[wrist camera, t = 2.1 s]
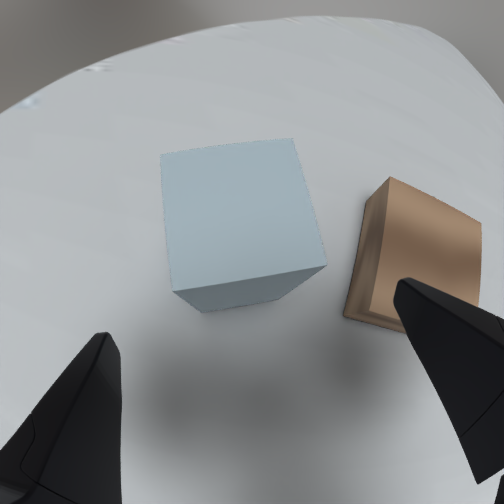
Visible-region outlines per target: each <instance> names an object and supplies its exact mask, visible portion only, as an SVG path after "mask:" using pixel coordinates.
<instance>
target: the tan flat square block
mask: <svg viewBox="0 0 504 504" xmlns="http://www.w3.org/2000/svg"><path fill="white" fill-rule="evenodd" d="M481 253H482V232H481V223H480V222H478V221H477V220H475V219H473V218H471V217H470V216H468V215H466V214H464V213H462V212H461V211H459V210H457V209H455V208H453V207H452V206H450V205H448V204H446V203H444V202H442V201H440V200H438V199H436V198H434V197H432V196H430V195H428V194H426V193H424V192H422V191H420V190H418V189H416V188H414V187H412V186H410V185H408V184H406V183H403V182H401V181H399V180H397V179H395V178H392V177H389V178H388V179H387V180H386V181H385V182H384V183H383V184H382V185H381V186H380V187H379V188H378V189H377V190H376V192H375V193H374V194H373V195H372V196H371V197H370V198H369V199H368V200H367V201H366V207H365V213H364V219H363V225H362V231H361V236H360V242H359V247H358V252H357V257H356V262H355V267H354V271H353V276H352V281H351V285H350V289H349V294H348V298H347V302H346V306H345V310H344V314H343V316H345V317H349V318H352V319H356V320H359V321H363V322H366V323H370V324H373V325H377V326H380V327H384V328H388V329H391V330H395V331H399V332H402V333H406V331H405V329H404V327H403V325H402V322H401V320H400V318H399V316H398V314H397V312H396V309H395V307H394V304H393V297H394V293H395V289H396V285H397V282H398V281H399V280H400V279H402V278H406V277H411V278H413V279H416V280H418V281H420V282H423V283H425V284H427V285H430V286H432V287H434V288H436V289H439V290H441V291H443V292H445V293H448V294H450V295H452V296H454V297H457V298H459V299H461V300H463V301H465V302H468V303H470V304H472V305H474V306H476V307H478V302H479V292H480V278H481Z"/></svg>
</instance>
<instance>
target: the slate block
mask: <svg viewBox="0 0 504 504" xmlns="http://www.w3.org/2000/svg"><path fill="white" fill-rule="evenodd" d="M160 162H161V181H162V196H163V209H164V221H165V232H166V241H167V251H168V260H169V268H170V276H171V284H172V291H173V292H174V293H175V294H177V295H178V296H179V297H181V298H182V299H183V300H185V301H186V302H187V303H189V304H190V305H192V306H193V307H194V308H196V309H197V310H198V311H200V312H201V313H202V312H209V311H215V310H221V309H227V308H233V307H239V306H245V305H250V304H256V303H261V302H267V301H272V300H277V299H279V298H281V297H282V296H284V295H285V294H287V293H288V292H290V291H291V290H293V289H294V288H296V287H297V286H298V285H300V284H301V283H303V282H304V281H306V280H307V279H308V278H310V277H311V276H313V275H314V274H316V273H317V272H318V271H320V270H321V269H323V268H324V267H325V266H327V265H328V264H327V260H326V256H325V251H324V247H323V243H322V239H321V236H320V232H319V228H318V224H317V220H316V217H315V213H314V209H313V206H312V202H311V198H310V195H309V191H308V188H307V184H306V181H305V177H304V174H303V171H302V167H301V164H300V161H299V158H298V154H297V151H296V148H295V145H294V142H293V138H288V139H275V140H263V141H253V142H243V143H235V144H226V145H218V146H211V147H204V148H197V149H191V150H185V151H179V152H173V153H167V154H162V155H160Z"/></svg>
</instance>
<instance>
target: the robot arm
mask: <svg viewBox="0 0 504 504" xmlns="http://www.w3.org/2000/svg"><path fill="white" fill-rule="evenodd" d="M393 304H394V307H395V309H396V312H397V314H398V316H399V318H400V320H401V322H402V325H403V327H404V329H405V331H406V334H407V336H408V338H409V340H410V342H411V344H412V346H413V348H414V350H415V352H416V354H417V355H418V357H419V359H420V361H421V363H422V365H423V366H424V368H425V370H426V372H427V374H428V376H429V378H430V380H431V382H432V384H433V386H434V387H435V389H436V391H437V393H438V395H439V397H440V400H441V402H442V404H443V406H444V408H445V410H446V412H447V414H448V416H449V418H450V420H451V423H452V425H453V427H454V429H455V431H456V434H457V436H458V438H459V441H460V443H461V446H462V448H463V450H464V453H465V455H466V458H467V460H468V463H469V465H470V468H471V470H472V473H473V475H474V478H475V481H476V483H477V484H480V483H481V482H483V481H485V480H486V479H488V478H489V477H491V476H493V475H494V474H496V473H497V472H499V471H500V470H502V469H503V468H504V319H502V318H500V317H498V316H495V315H494V314H492V313H489V312H487V311H485V310H483V309H481V308H479V307H476V306H474V305H472V304H470V303H468V302H465V301H463V300H461V299H459V298H457V297H454V296H452V295H450V294H448V293H445V292H443V291H441V290H439V289H436V288H434V287H432V286H430V285H427V284H425V283H423V282H420V281H418V280H416V279H413V278H411V277H406V278H402V279H400V280H399V281H398V282H397V285H396V289H395V293H394V297H393ZM121 413H122V391H121V358H120V352H119V350H118V348H117V346H116V344H115V342H114V340H113V338H112V337H111V335H110V334H109V333H108V332H102V333H96V334H95V335H94V336H93V337H92V338H91V339H90V340H89V342H88V343H87V344H86V345H85V346H84V347H83V349H82V350H81V351H80V352H79V353H78V354H77V356H76V357H75V358H74V359H73V360H72V362H71V363H70V364H69V365H68V366H67V368H66V369H65V370H64V371H63V372H62V374H61V375H60V376H59V377H58V379H57V380H56V381H55V382H54V384H53V385H52V386H51V387H50V389H49V390H48V391H47V392H46V394H45V395H44V396H43V397H42V399H41V400H40V401H39V402H38V404H37V405H36V406H35V408H34V409H33V410H32V412H31V414H29V415H28V417H27V418H26V419H25V421H24V422H23V423H22V425H21V426H20V427H19V428H18V430H17V431H16V432H15V434H14V435H13V436H12V437H11V438H10V440H9V441H8V442H7V443H6V444H5V445H4V447H3V448H2V449H1V450H0V504H122V495H121V462H120V447H121ZM494 504H504V474H503V475H502V476H501V479H500V484H499V488H498V492H497V496H496V499H495V503H494Z"/></svg>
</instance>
